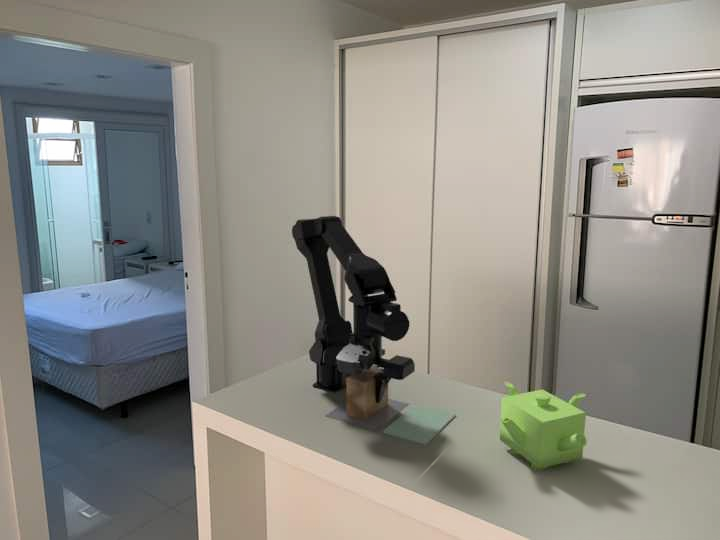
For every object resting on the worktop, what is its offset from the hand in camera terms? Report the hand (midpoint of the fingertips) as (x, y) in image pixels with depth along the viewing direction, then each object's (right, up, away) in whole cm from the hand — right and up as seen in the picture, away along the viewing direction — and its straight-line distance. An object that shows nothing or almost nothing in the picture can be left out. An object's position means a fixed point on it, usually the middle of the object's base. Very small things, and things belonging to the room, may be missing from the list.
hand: (367, 400), depth 116 cm
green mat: (+10, -4, -6) cm, 12 cm away
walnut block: (0, -2, 0) cm, 2 cm away
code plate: (0, -2, 0) cm, 2 cm away
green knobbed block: (+30, -6, -17) cm, 35 cm away
